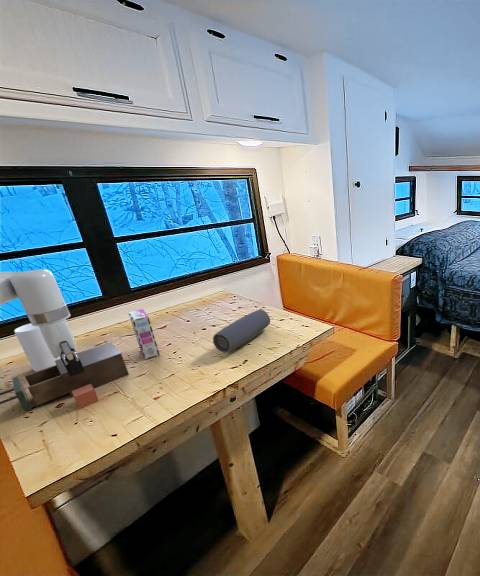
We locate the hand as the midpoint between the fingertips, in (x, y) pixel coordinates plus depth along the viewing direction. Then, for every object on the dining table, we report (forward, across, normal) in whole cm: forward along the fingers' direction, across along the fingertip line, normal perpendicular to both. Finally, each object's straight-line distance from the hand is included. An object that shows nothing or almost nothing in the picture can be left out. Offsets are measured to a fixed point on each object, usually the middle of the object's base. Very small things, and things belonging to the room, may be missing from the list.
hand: (74, 367), depth 89 cm
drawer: (+11, -14, -9) cm, 20 cm away
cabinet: (+12, -14, +4) cm, 19 cm away
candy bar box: (+13, -18, +21) cm, 31 cm away
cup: (+12, -39, -5) cm, 41 cm away
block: (+12, 0, 0) cm, 12 cm away
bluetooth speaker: (+13, +4, +48) cm, 50 cm away
